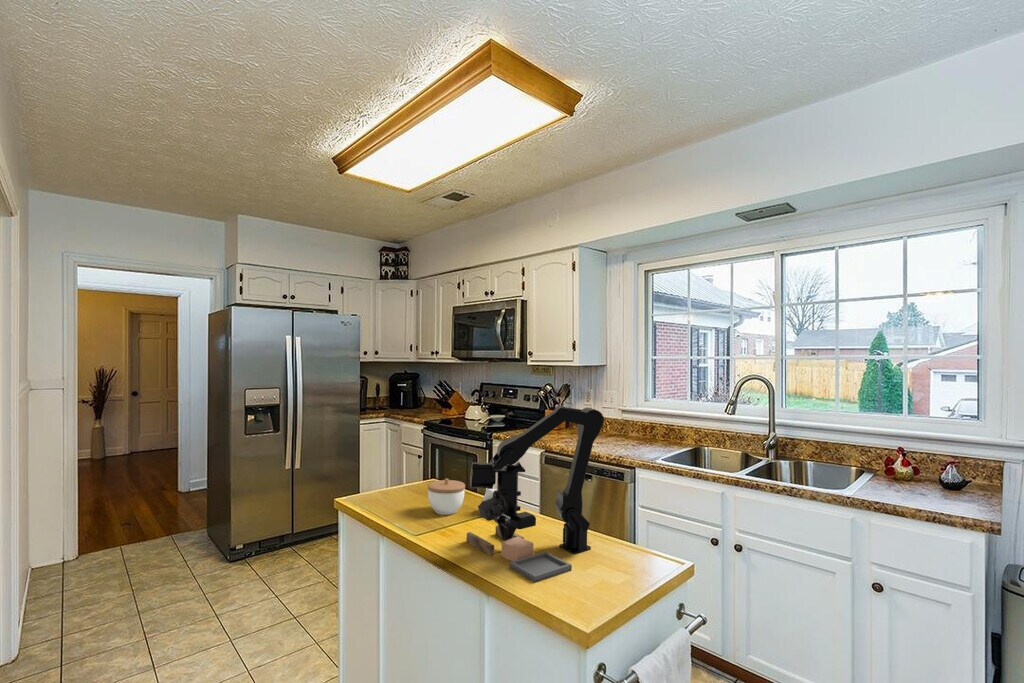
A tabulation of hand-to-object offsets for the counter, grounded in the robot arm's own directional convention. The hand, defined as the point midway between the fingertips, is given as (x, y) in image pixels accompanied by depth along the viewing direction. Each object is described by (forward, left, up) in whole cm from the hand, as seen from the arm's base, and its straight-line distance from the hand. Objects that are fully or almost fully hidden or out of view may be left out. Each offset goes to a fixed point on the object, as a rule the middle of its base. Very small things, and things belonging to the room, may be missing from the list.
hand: (506, 544), depth 139 cm
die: (+28, -16, -2) cm, 33 cm away
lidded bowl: (+38, -3, -2) cm, 39 cm away
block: (-5, 0, -2) cm, 6 cm away
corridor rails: (+5, 0, -2) cm, 6 cm away
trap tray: (-15, 0, -2) cm, 15 cm away
